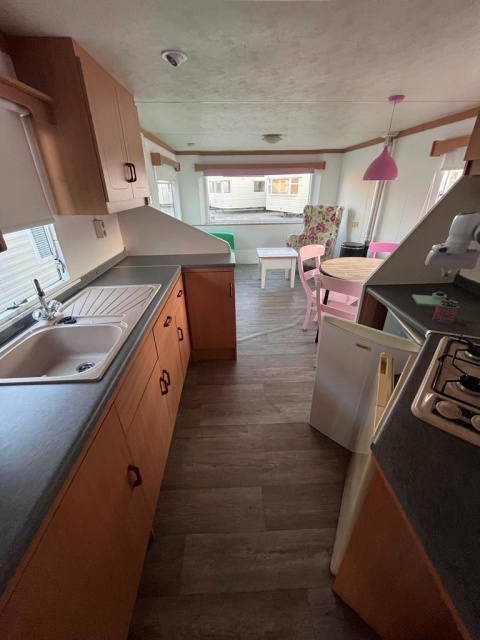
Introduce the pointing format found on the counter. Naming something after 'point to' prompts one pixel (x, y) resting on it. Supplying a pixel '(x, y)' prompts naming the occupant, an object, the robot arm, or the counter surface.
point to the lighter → (446, 311)
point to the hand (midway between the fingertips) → (445, 276)
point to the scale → (428, 299)
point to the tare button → (440, 293)
